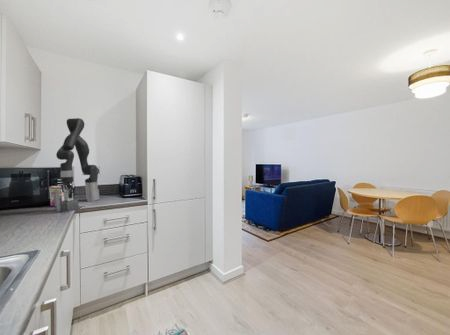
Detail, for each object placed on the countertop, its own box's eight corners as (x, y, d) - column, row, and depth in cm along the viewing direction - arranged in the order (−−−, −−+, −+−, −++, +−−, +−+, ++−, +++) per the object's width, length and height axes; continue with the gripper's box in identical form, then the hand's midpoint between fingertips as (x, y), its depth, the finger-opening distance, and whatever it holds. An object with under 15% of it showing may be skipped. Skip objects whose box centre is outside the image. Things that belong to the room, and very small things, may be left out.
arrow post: (62, 210, 149) (60, 190, 148) (64, 211, 148) (62, 190, 147) (55, 212, 145) (53, 191, 144) (57, 212, 144) (55, 191, 143)
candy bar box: (49, 206, 163) (48, 187, 162) (55, 204, 168) (54, 185, 167) (62, 206, 162) (60, 187, 161) (67, 204, 167) (66, 186, 166)
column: (71, 206, 156) (69, 187, 155) (74, 207, 155) (73, 187, 153) (64, 208, 151) (62, 188, 150) (67, 209, 150) (66, 188, 148)
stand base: (73, 206, 162) (72, 198, 161) (84, 207, 157) (84, 199, 157) (53, 211, 149) (52, 202, 148) (65, 212, 144) (64, 203, 143)
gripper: (78, 175, 152) (79, 197, 153) (66, 175, 157) (68, 196, 158) (67, 177, 145) (69, 199, 146) (55, 176, 150) (57, 198, 151)
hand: (68, 197), depth 152 cm, fingers closed on column, 4 cm apart
